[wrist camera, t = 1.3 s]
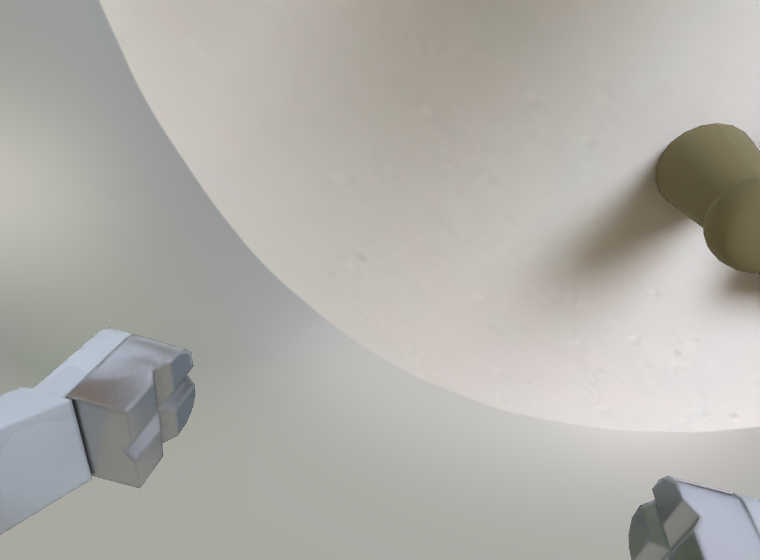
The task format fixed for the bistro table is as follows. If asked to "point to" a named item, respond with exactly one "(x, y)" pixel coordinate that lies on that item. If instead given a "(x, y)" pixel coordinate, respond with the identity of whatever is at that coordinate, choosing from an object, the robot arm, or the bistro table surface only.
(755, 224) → the olive pawn
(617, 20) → the bistro table surface
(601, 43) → the bistro table surface
